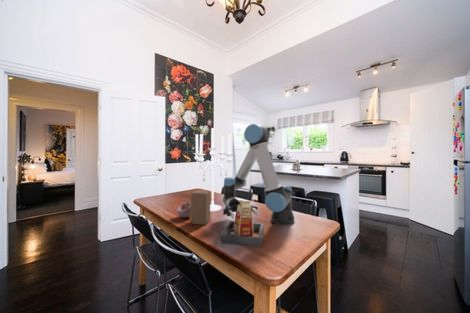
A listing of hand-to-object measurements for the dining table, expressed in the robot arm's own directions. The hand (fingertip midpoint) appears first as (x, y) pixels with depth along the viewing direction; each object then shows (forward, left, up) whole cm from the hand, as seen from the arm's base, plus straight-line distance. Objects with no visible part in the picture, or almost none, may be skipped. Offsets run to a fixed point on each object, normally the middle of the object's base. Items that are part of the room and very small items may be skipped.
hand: (245, 215), depth 100 cm
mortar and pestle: (+47, -24, -13) cm, 54 cm away
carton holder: (+2, -3, -12) cm, 13 cm away
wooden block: (+33, -18, -13) cm, 39 cm away
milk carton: (+1, -3, -13) cm, 13 cm away
